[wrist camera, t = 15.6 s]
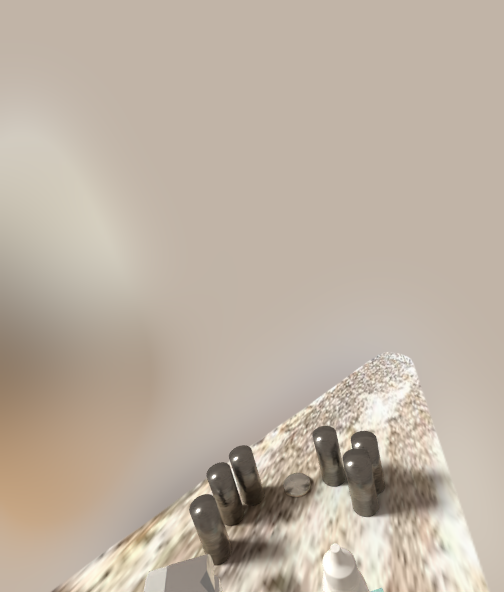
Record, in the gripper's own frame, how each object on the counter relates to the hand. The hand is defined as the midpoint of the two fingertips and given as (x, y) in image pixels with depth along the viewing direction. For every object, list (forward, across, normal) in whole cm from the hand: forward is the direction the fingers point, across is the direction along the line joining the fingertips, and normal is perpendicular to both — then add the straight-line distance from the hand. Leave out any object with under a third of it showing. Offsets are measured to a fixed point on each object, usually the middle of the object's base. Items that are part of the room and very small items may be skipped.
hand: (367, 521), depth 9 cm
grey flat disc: (+33, 0, +30) cm, 45 cm away
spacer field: (+30, +1, +30) cm, 43 cm away
